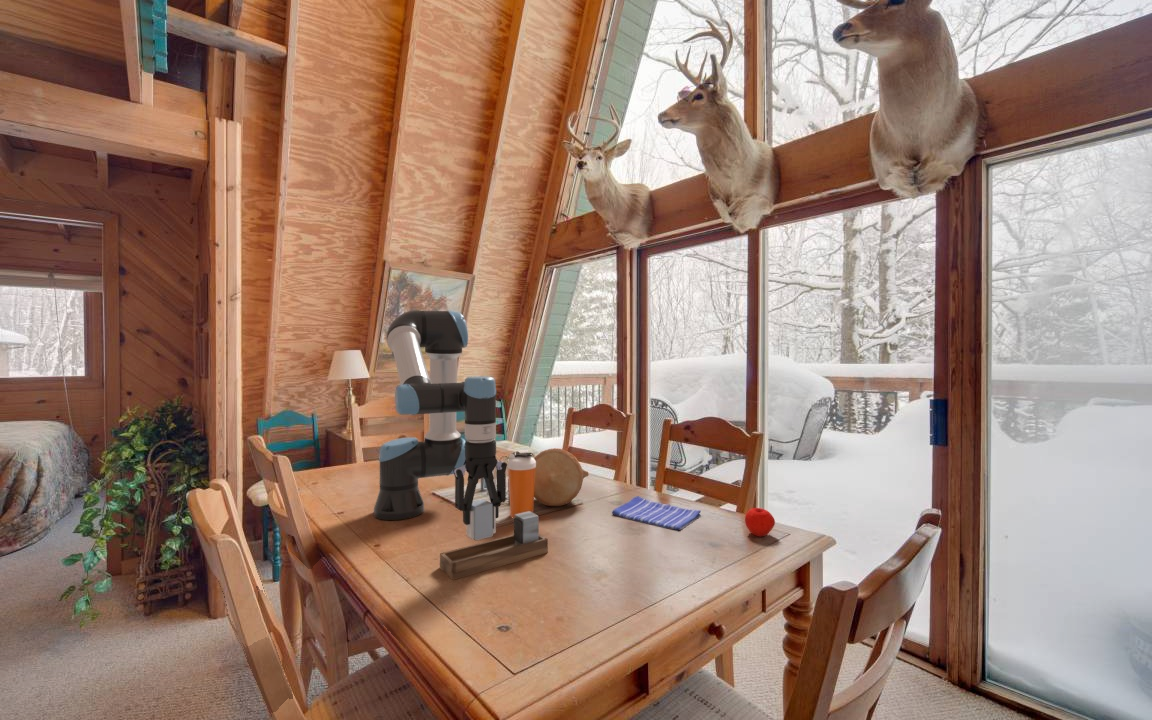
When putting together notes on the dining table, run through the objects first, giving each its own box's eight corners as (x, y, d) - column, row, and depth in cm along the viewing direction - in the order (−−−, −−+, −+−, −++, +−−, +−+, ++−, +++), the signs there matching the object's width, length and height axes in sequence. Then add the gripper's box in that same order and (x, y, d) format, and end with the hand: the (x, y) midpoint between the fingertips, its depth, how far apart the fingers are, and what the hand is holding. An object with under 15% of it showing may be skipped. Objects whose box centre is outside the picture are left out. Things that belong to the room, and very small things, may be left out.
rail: (439, 567, 123) (439, 528, 123) (531, 542, 139) (531, 508, 138) (452, 579, 117) (452, 539, 116) (547, 552, 132) (547, 516, 132)
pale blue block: (467, 534, 125) (467, 502, 125) (486, 530, 128) (486, 498, 128) (475, 540, 121) (475, 507, 121) (494, 535, 125) (494, 503, 124)
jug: (511, 476, 163) (518, 464, 193) (547, 524, 162) (548, 505, 192) (561, 438, 164) (560, 432, 194) (596, 485, 164) (590, 472, 193)
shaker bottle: (531, 522, 154) (531, 456, 154) (503, 520, 156) (503, 455, 155) (539, 512, 163) (539, 450, 162) (512, 510, 165) (512, 449, 164)
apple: (778, 534, 145) (779, 508, 145) (767, 542, 139) (767, 515, 139) (751, 527, 150) (752, 502, 150) (739, 534, 145) (740, 508, 144)
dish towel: (636, 502, 175) (636, 494, 175) (702, 516, 161) (702, 507, 161) (609, 516, 161) (609, 507, 161) (679, 533, 147) (679, 523, 147)
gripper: (451, 446, 116) (452, 547, 116) (520, 438, 127) (521, 530, 127) (438, 441, 122) (439, 537, 122) (506, 433, 133) (506, 522, 133)
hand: (481, 534), depth 125 cm, fingers closed on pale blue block, 5 cm apart
